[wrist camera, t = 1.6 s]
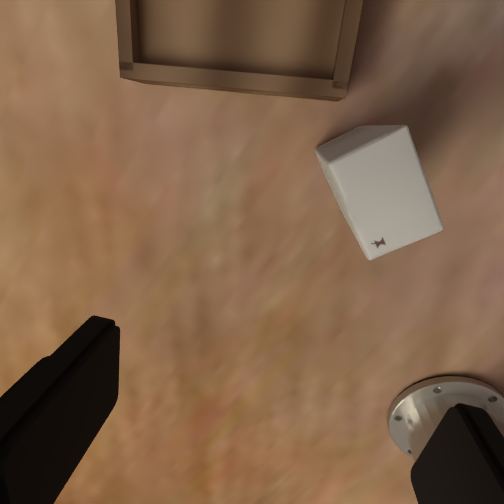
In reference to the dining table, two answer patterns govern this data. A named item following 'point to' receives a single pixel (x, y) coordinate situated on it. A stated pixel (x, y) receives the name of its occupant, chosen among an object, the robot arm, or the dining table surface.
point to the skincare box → (380, 187)
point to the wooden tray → (240, 45)
